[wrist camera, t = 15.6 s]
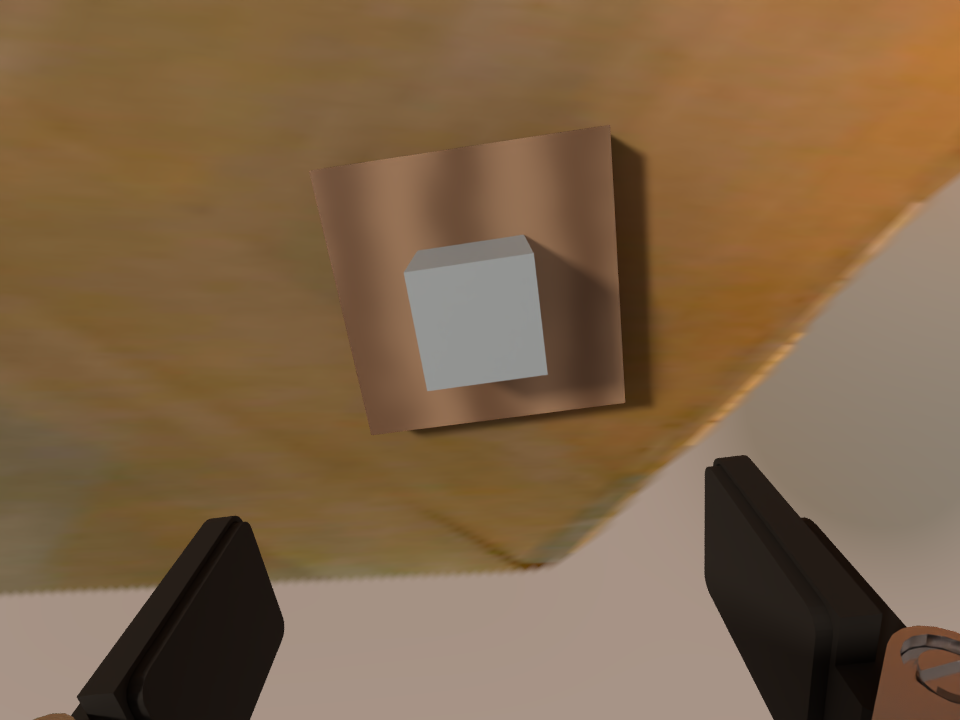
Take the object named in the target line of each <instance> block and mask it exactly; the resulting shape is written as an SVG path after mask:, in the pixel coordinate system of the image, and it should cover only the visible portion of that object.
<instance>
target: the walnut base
mask: <svg viewBox="0 0 960 720" xmlns="http://www.w3.org/2000/svg"><path fill="white" fill-rule="evenodd" d="M309 173H310V177H311V181H312V185H313V190H314V194H315V198H316V202H317V207H318V211H319V215H320V219H321V223H322V228H323V232H324V236H325V240H326V245H327V249H328V253H329V257H330V262H331V266H332V270H333V274H334V278H335V283H336V287H337V291H338V295H339V300H340V304H341V308H342V312H343V317H344V321H345V325H346V329H347V333H348V338H349V342H350V346H351V350H352V355H353V359H354V363H355V367H356V372H357V376H358V380H359V384H360V388H361V393H362V397H363V401H364V405H365V410H366V414H367V418H368V422H369V427H370V431H371V435H377V434H384V433H392V432H400V431H408V430H416V429H424V428H431V427H439V426H447V425H455V424H463V423H471V422H478V421H486V420H494V419H502V418H510V417H518V416H525V415H533V414H541V413H549V412H557V411H565V410H573V409H580V408H588V407H596V406H604V405H612V404H620V403H625V389H624V371H623V353H622V335H621V317H620V298H619V280H618V262H617V244H616V226H615V208H614V190H613V172H612V153H611V135H610V125H606V126H600V127H593V128H586V129H580V130H573V131H567V132H560V133H554V134H547V135H540V136H534V137H527V138H521V139H514V140H508V141H501V142H494V143H488V144H481V145H475V146H468V147H461V148H455V149H448V150H442V151H435V152H429V153H422V154H415V155H409V156H402V157H396V158H389V159H382V160H376V161H369V162H363V163H356V164H350V165H343V166H336V167H330V168H323V169H317V170H310V171H309ZM518 235H524V236H525V238H526V240H527V241H528V243H529V245H530V247H531V249H532V251H533V253H534V260H535V268H536V277H537V286H538V294H539V303H540V312H541V320H542V329H543V338H544V346H545V355H546V364H547V373H548V375H541V376H534V377H527V378H520V379H513V380H505V381H498V382H491V383H484V384H476V385H469V386H462V387H455V388H447V389H440V390H433V391H427V387H426V382H425V377H424V372H423V367H422V362H421V357H420V352H419V347H418V342H417V337H416V332H415V327H414V322H413V317H412V312H411V307H410V302H409V297H408V292H407V287H406V282H405V277H404V271H405V270H406V268H407V266H408V265H409V263H410V262H411V260H412V258H413V257H414V255H415V254H416V252H417V251H419V250H425V249H432V248H439V247H445V246H452V245H458V244H465V243H472V242H478V241H485V240H491V239H498V238H505V237H511V236H518Z"/></svg>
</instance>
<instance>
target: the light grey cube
mask: <svg viewBox="0 0 960 720" xmlns="http://www.w3.org/2000/svg"><path fill="white" fill-rule="evenodd" d="M404 277H405V282H406V287H407V292H408V297H409V302H410V307H411V312H412V317H413V322H414V327H415V332H416V337H417V342H418V347H419V352H420V357H421V362H422V367H423V372H424V377H425V382H426V387H427V391H433V390H440V389H447V388H455V387H462V386H469V385H476V384H484V383H491V382H498V381H505V380H513V379H520V378H527V377H534V376H541V375H548V373H547V364H546V355H545V346H544V338H543V329H542V320H541V312H540V303H539V294H538V286H537V277H536V268H535V260H534V253H533V251H532V249H531V247H530V245H529V243H528V241H527V240H526V238H525V236H524V235H518V236H511V237H505V238H498V239H491V240H485V241H478V242H472V243H465V244H458V245H452V246H445V247H439V248H432V249H425V250H419V251H417V252H416V254H415V255H414V257H413V258H412V260H411V262H410V263H409V265H408V266H407V268H406V270H405V271H404Z"/></svg>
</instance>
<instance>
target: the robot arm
mask: <svg viewBox="0 0 960 720" xmlns="http://www.w3.org/2000/svg"><path fill="white" fill-rule="evenodd" d="M705 581H706V585H707V588H708V591H709V593H710V595H711V597H712V599H713V601H714V603H715V605H716V607H717V609H718V611H719V613H720V615H721V617H722V619H723V621H724V623H725V625H726V627H727V629H728V631H729V633H730V635H731V637H732V638H733V640H734V642H735V644H736V646H737V648H738V650H739V652H740V654H741V656H742V658H743V660H744V662H745V664H746V666H747V668H748V670H749V672H750V674H751V676H752V678H753V680H754V682H755V684H756V686H757V688H758V690H759V692H760V694H761V696H762V698H763V700H764V701H765V703H766V705H767V707H768V709H769V711H770V713H771V715H772V717H773V719H774V720H960V634H959V633H957V632H954V631H950V630H946V629H942V628H938V627H930V626H912V627H906V626H905V625H904V624H903V623H902V621H901V620H900V619H899V618H898V617H897V616H896V615H895V614H894V612H893V611H892V610H891V609H890V608H889V607H888V606H887V604H886V603H885V602H884V601H883V600H882V599H881V597H880V596H879V595H878V594H877V593H876V592H875V591H874V590H873V588H872V587H871V586H870V585H869V584H868V583H867V582H866V580H865V579H864V578H863V577H862V576H861V575H860V574H859V573H858V571H857V570H856V569H855V568H854V567H853V566H852V565H851V563H850V562H849V561H848V560H847V559H846V558H845V557H844V556H843V554H842V553H841V552H840V551H839V550H838V549H837V548H836V546H835V545H834V544H833V543H832V542H831V541H830V540H829V538H828V537H827V536H826V535H825V534H824V533H823V532H822V531H821V529H820V528H819V527H818V526H817V525H816V524H815V523H814V522H813V521H811V520H810V519H808V518H800V517H799V515H798V514H797V513H796V512H795V511H794V510H793V508H792V507H791V506H790V505H789V504H788V503H787V501H786V500H785V499H784V498H783V497H782V496H781V494H780V493H779V492H778V491H777V490H776V489H775V487H774V486H773V485H772V484H771V483H770V482H769V480H768V479H767V478H766V477H765V476H764V475H763V473H762V472H761V471H760V470H759V469H758V468H757V466H756V465H755V464H754V463H753V462H752V461H751V459H750V458H749V457H748V456H745V455H741V456H733V457H725V458H717V459H715V461H714V464H713V466H712V467H707V468H706V470H705ZM283 634H284V621H283V617H282V614H281V611H280V608H279V605H278V602H277V600H276V597H275V594H274V591H273V588H272V585H271V582H270V580H269V577H268V574H267V571H266V568H265V565H264V562H263V560H262V557H261V554H260V551H259V548H258V545H257V543H256V540H255V537H254V534H253V531H252V528H251V526H250V524H249V523H248V522H243V521H242V519H241V518H240V517H238V516H229V517H221V518H213V519H209V520H207V521H206V522H205V523H204V524H203V525H202V527H201V528H200V529H199V531H198V532H197V533H196V535H195V536H194V538H193V539H192V540H191V542H190V543H189V544H188V546H187V547H186V548H185V550H184V551H183V553H182V554H181V555H180V557H179V558H178V559H177V561H176V562H175V563H174V565H173V566H172V568H171V569H170V570H169V572H168V573H167V574H166V576H165V577H164V578H163V580H162V581H161V583H160V584H159V585H158V587H157V588H156V589H155V591H154V592H153V593H152V595H151V596H150V598H149V599H148V600H147V602H146V603H145V604H144V606H143V607H142V608H141V610H140V611H139V613H138V614H137V615H136V617H135V618H134V619H133V621H132V622H131V623H130V625H129V626H128V628H127V629H126V630H125V632H124V633H123V634H122V636H121V637H120V639H119V640H118V641H117V643H116V644H115V645H114V647H113V648H112V649H111V651H110V652H109V654H108V655H107V656H106V658H105V659H104V660H103V662H102V663H101V664H100V666H99V667H98V669H97V670H96V671H95V673H94V674H93V675H92V677H91V678H90V679H89V681H88V682H87V683H86V685H85V686H84V688H83V689H82V690H81V692H80V693H79V694H78V696H77V698H78V700H79V701H80V704H79V705H78V707H77V708H76V710H75V711H74V712H73V714H72V715H71V716H70V715H67V714H65V713H55V714H54V713H53V714H49V715H46V716H42V717H39V718H36V719H34V720H250V718H251V716H252V713H253V711H254V708H255V705H256V703H257V701H258V698H259V696H260V693H261V691H262V688H263V686H264V683H265V680H266V678H267V676H268V673H269V670H270V668H271V666H272V663H273V661H274V658H275V656H276V653H277V651H278V648H279V646H280V644H281V641H282V638H283Z"/></svg>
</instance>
